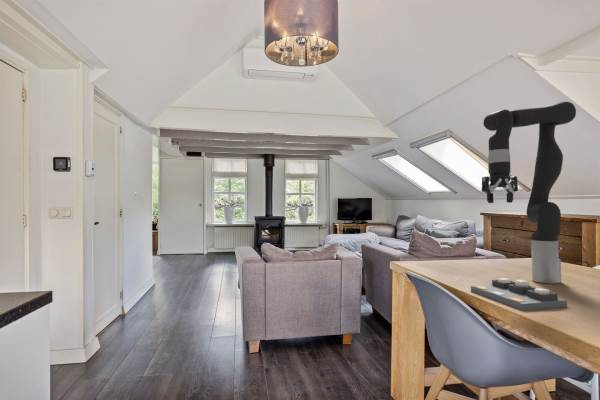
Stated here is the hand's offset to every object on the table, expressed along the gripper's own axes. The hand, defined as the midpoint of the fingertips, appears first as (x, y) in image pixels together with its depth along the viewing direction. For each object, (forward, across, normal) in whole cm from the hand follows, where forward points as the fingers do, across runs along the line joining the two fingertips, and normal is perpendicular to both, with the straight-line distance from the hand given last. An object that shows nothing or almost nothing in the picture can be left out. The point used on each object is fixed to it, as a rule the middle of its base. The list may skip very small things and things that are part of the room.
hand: (500, 202), depth 135 cm
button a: (+30, +5, +7) cm, 32 cm away
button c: (+30, +5, +23) cm, 38 cm away
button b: (+29, +5, +15) cm, 33 cm away
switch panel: (+33, +8, +15) cm, 37 cm away
